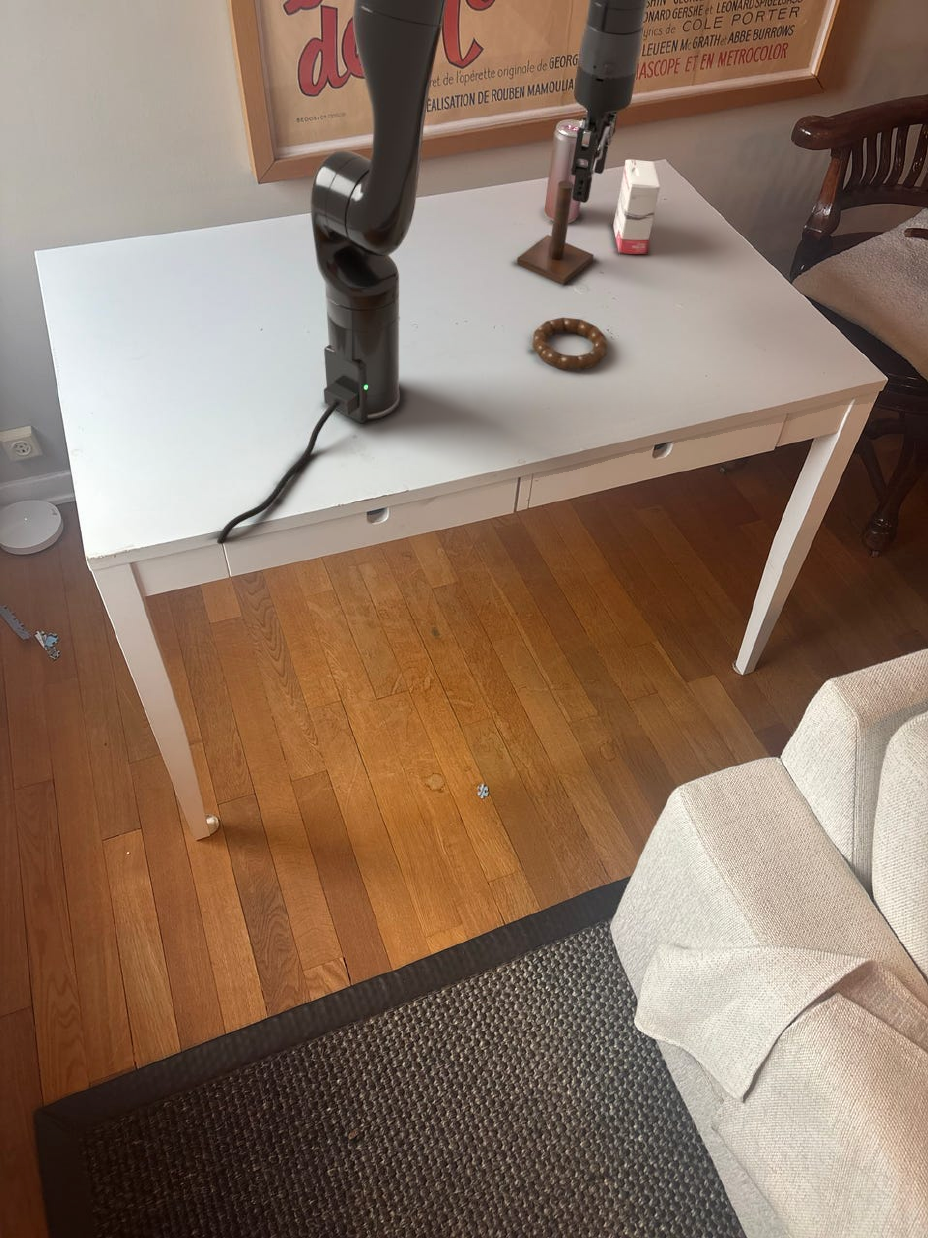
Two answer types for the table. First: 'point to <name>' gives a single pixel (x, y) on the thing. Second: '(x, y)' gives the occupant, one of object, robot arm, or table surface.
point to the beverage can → (562, 165)
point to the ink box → (636, 206)
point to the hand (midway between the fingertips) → (588, 185)
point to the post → (557, 245)
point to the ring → (570, 360)
